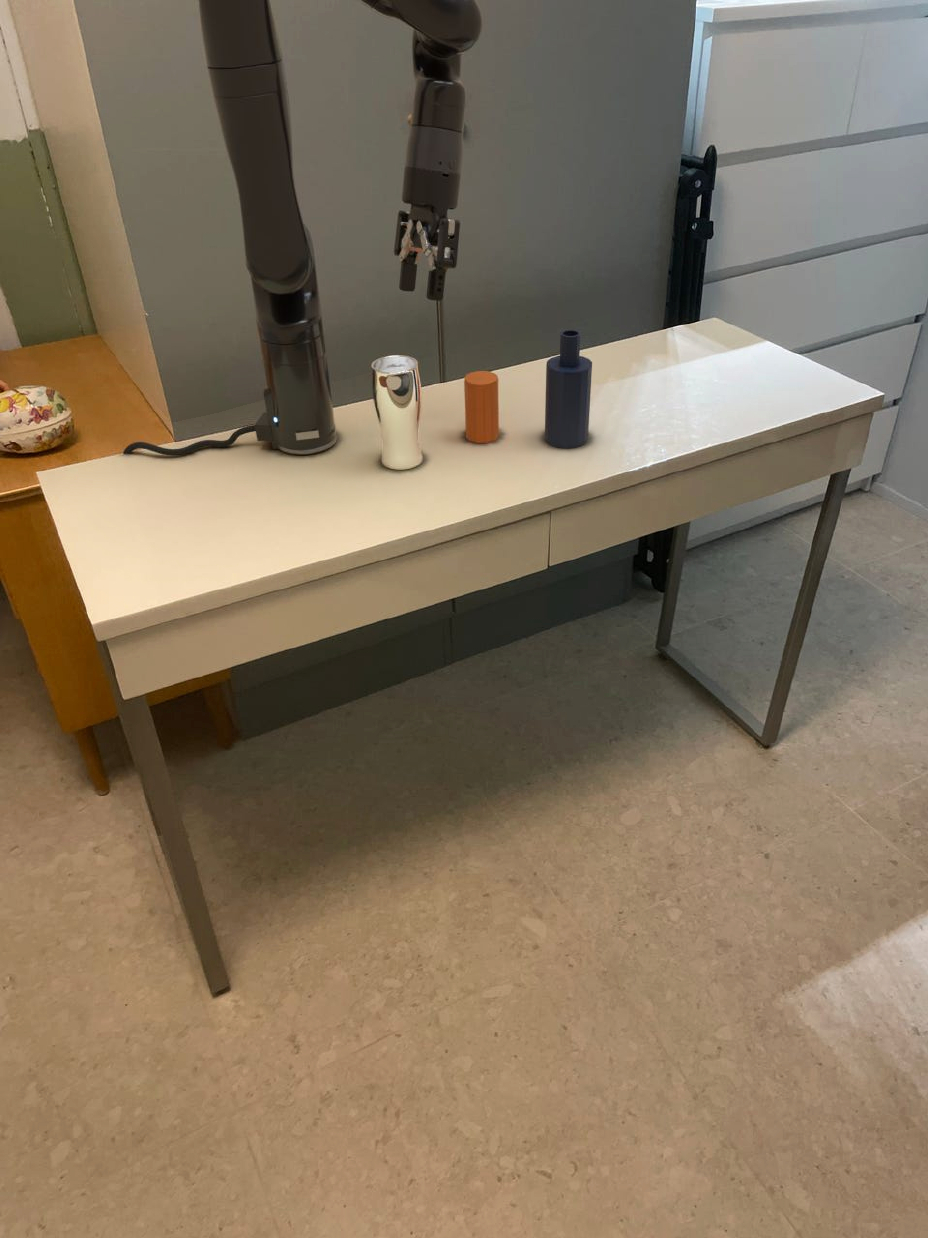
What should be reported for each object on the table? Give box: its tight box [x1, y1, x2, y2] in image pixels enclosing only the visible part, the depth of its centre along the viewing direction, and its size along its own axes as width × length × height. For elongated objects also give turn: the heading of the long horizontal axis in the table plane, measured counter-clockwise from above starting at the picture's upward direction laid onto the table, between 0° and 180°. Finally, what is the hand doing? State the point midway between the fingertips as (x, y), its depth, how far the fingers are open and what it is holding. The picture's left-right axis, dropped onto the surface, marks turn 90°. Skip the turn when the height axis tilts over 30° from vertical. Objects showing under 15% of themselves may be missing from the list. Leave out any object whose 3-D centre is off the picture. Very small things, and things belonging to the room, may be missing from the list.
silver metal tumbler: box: [370, 354, 423, 471], centre depth 135 cm, size 7×7×15 cm
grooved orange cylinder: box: [463, 370, 500, 444], centre depth 142 cm, size 5×5×10 cm
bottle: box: [544, 329, 593, 449], centre depth 138 cm, size 7×7×16 cm
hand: (420, 295), depth 130 cm, fingers open, 8 cm apart
